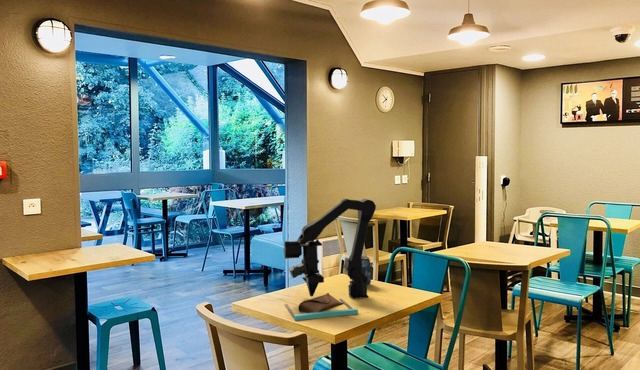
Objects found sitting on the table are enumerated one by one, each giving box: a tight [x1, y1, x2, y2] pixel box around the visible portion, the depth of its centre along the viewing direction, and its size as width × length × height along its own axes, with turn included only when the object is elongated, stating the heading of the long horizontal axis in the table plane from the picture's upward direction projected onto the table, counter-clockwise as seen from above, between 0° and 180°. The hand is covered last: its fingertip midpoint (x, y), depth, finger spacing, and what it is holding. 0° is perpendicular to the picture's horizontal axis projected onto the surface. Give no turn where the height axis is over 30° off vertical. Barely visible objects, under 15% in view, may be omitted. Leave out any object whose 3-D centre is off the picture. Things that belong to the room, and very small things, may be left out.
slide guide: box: [284, 298, 359, 321], centre depth 199 cm, size 23×20×2 cm
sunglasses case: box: [297, 292, 344, 314], centre depth 201 cm, size 18×7×7 cm
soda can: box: [362, 256, 372, 287], centre depth 234 cm, size 7×7×12 cm
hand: (311, 296), depth 212 cm, fingers closed
